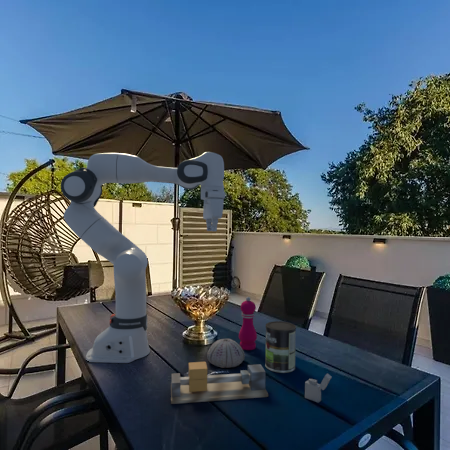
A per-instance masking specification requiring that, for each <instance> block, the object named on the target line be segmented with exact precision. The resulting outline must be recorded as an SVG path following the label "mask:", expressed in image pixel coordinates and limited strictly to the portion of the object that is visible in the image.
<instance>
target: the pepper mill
mask: <svg viewBox="0 0 450 450" xmlns="http://www.w3.org/2000/svg"><path fill="white" fill-rule="evenodd" d="M240 311H241V317H242V325H241V328H240V330H239V333H238V339H239V340H240V342H239V345H240V347H241V348H242V349H243V351H253V350H255V349H256V345H257V343H256V341H257V338H258V336H257V335H258V333H257V330H256V329H255V326H254V318H255V313H254V312H255V311H256V304H255V302H253V301H252V300H251V297H250V296H246V298H245V300H244V301H243V302H241V304H240Z"/></svg>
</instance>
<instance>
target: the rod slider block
mask: <svg viewBox="0 0 450 450" xmlns="http://www.w3.org/2000/svg"><path fill="white" fill-rule="evenodd" d="M170 396H171V397H170V404H171V405H175V404H177V405H178V404H188V403H189V404H191V403H201V402H214V401H215V402H216V401H229V400H240V399H241V400H242V399H243V400H245V399H254V398H255V399H256V398H267V397H268V398H269V393H268V391H267V389H266V371H265V369H264V367H263V366H262V364H261V363H260V364H259V363H258V364H257V363H256V364H247V370H246V369H245V370H244V369H243V370H241V369H240V373H229V374H227V373H226V374H210V375H209V374H207V391H195V392H189V376H181V373H179V372H178V373H177V372H176V373H175V372H174V373H171V383H170Z"/></svg>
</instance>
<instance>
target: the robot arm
mask: <svg viewBox="0 0 450 450" xmlns="http://www.w3.org/2000/svg"><path fill="white" fill-rule="evenodd" d="M224 178H225V162H224V159H223V156H222V155H220V154H219V153H216V152H214V151H213V152H212V151H205V152H203V153H202V154H201V155H199V156H195V157H193V158H190V159H184V160H183V161H182V162H180V163H179V165H178V166H177V167H167V166H157V165H154V164H151V163H149V162H147V161H145V160H144V159H142V158H141V157H140V156H137V155H133V154H129V153H121V152H120V153H119V152H103V153H101V152H100V153H94V154H92V155H90V156H89V158H88V160H87V163H86V167H84V166H83V167H80V168H78V169H76V170H74V171H71V172H69V173H67V174H66V175H65V176H64V177H63V178H62V180H61V182H60V191H61V192H62V195H63V196H64V197H65V199H67V200H68V201H70V204H69V206H68V207H67V208H66V209H65V211H64V213H63V219H64V221H65V222H66V224H67V225H68V227H69V229H71V230H72V231H73V233H74V234H75V235H76V236H78V237H79V239H80V240H81V241H83V243H85V244H86V245H87V246H89V248H91V249H92V250H93V251H94V252H95V253H96V254H97V255H100V256H101V257H102V258H104V259H105V260H107V261H108V262H110V263H111V264H112V265H113V279H114V281H113V282H114V291H115V313H112V314H111V315H110V316H109V326H108V327H107V328H106V329H104V330H103V331H102V332H100V333H99V334H98V335H97V336H96V337H95V339H94V342H93V346H92V348H90V349H89V350H88V351H87V352H86V355H85V361H86V360H87V361H89V362H88V363H108V364H109V363H111V364H118V363H119V364H128V363H131V362H134V361H135V360H138V359H141V358H144V357H146V356H147V355H149V354H150V353H151V349H150V345H149V341H148V334H147V333H148V331H147V329H148V314H147V287H146V286H147V283H146V279H147V278H146V269H147V266H148V263H149V262H148V257H147V255H146V253H145V252H144V251H143V250H142V249H141V248H140V247H138V246H137V245H136V244H135V243H134V242H133V241H131V240H130V239H129V238H128V237H126V236H125V235H124V234H122V233H121V232H120V231H119V230H118V229H117V228H116V227H114V225H113V224H111V223H110V221H108V220H107V218H105V217H104V216H103V215H102V214H101V213H99V211H97V210H96V208H95V207H96V206H97V204H98V202H99V200H100V198H101V197H102V193H103V185H104V184H111V183H112V184H122V185H123V184H139V183H150V182H151V183H163V184H164V183H165V184H173V185H177V186H179V187H181V188H183V189H185V190H195V189H197V188H198V187H199V186H200V200H202V201H203V210H202V211H203V214H202V216H203V217H202V218H203V220H205V223H206V231H207V232H217V230H218V224H219V219H222V218H223V213H224V200H225V198H226V192H225V186H224ZM87 361H86V362H87Z"/></svg>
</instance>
